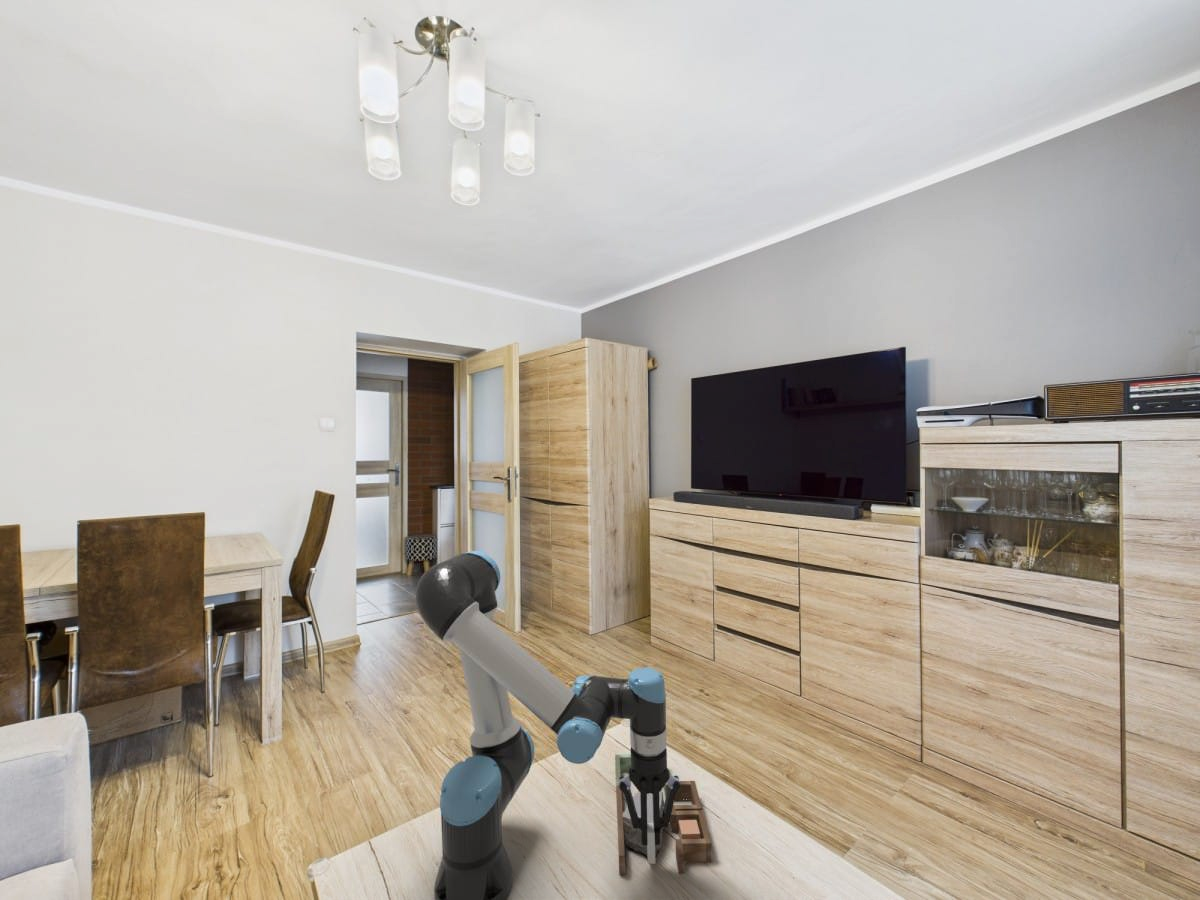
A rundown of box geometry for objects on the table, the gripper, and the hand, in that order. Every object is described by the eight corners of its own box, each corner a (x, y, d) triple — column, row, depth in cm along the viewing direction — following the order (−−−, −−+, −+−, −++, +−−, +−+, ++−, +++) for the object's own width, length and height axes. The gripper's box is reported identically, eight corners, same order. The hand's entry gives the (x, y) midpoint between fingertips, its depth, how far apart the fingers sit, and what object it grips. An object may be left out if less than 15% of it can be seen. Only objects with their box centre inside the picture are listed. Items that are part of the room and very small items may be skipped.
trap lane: (619, 874, 104) (618, 855, 104) (615, 769, 137) (615, 754, 137) (714, 873, 103) (714, 854, 103) (687, 767, 137) (687, 753, 137)
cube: (681, 852, 109) (681, 834, 109) (678, 837, 113) (678, 820, 113) (700, 851, 109) (700, 833, 109) (696, 837, 113) (696, 819, 113)
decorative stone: (624, 862, 107) (671, 859, 107) (622, 829, 107) (669, 827, 107) (622, 811, 122) (664, 809, 122) (620, 783, 122) (662, 781, 122)
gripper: (617, 758, 101) (620, 874, 102) (682, 757, 101) (685, 873, 102) (616, 736, 109) (619, 844, 109) (677, 735, 109) (679, 843, 109)
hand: (651, 858), depth 106 cm, fingers closed
